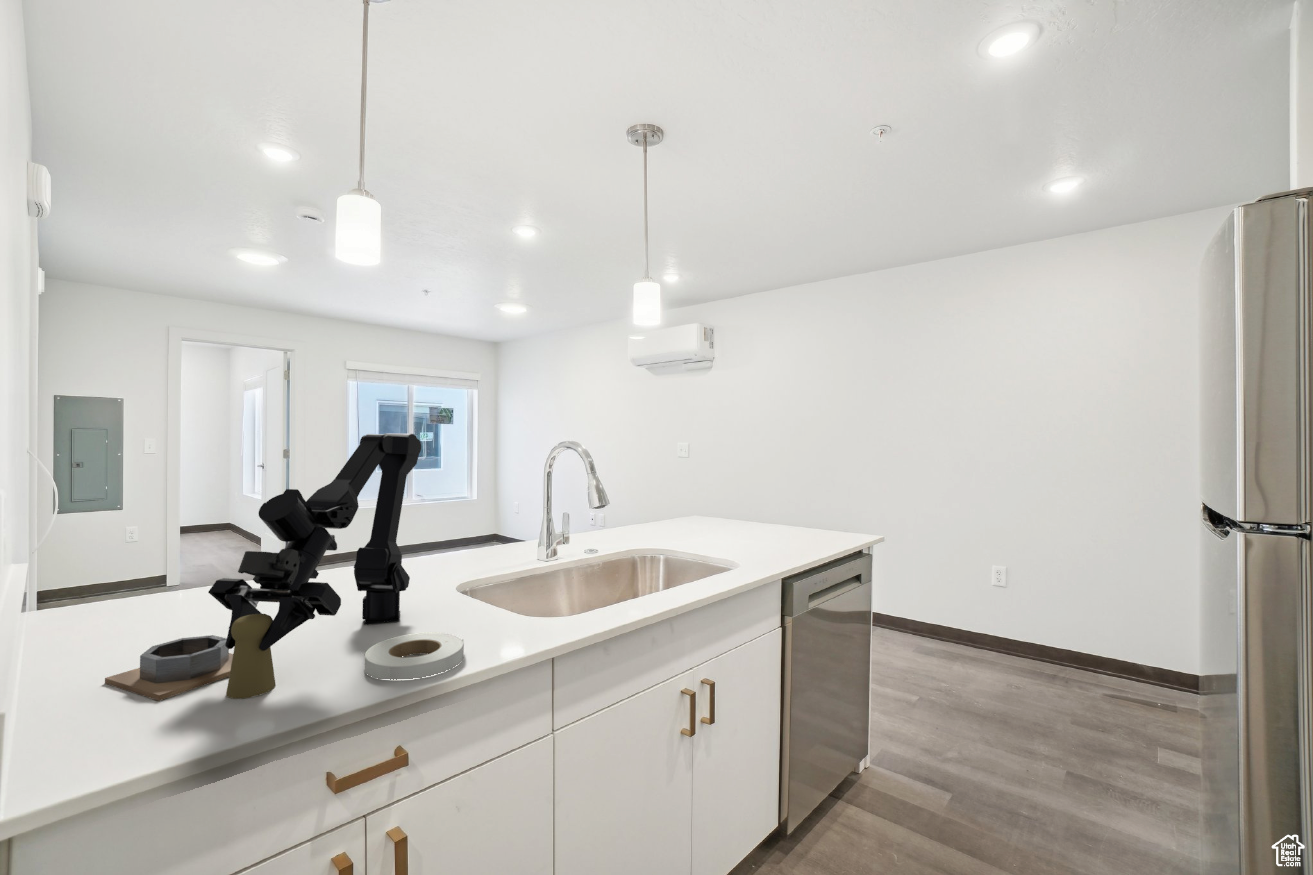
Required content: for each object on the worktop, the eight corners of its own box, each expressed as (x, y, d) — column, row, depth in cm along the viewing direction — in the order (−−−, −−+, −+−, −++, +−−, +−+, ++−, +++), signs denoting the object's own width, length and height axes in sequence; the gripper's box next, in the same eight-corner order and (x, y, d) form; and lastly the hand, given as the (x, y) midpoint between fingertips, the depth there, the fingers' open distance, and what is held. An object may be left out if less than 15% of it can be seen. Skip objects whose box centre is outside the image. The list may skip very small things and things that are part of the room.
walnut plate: (207, 652, 99) (207, 647, 99) (260, 665, 94) (260, 660, 94) (104, 683, 86) (104, 677, 86) (159, 700, 81) (159, 695, 81)
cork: (285, 682, 88) (286, 610, 88) (253, 699, 82) (255, 623, 82) (249, 679, 88) (250, 608, 88) (215, 697, 82) (216, 621, 82)
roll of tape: (387, 692, 85) (387, 673, 85) (350, 663, 96) (350, 646, 96) (480, 664, 97) (481, 647, 97) (438, 641, 107) (438, 626, 107)
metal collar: (201, 653, 96) (202, 632, 96) (239, 663, 93) (240, 641, 93) (128, 675, 87) (129, 652, 87) (167, 687, 83) (167, 663, 83)
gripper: (220, 527, 90) (149, 618, 79) (330, 531, 88) (274, 625, 77) (258, 566, 98) (199, 654, 87) (361, 570, 96) (314, 661, 85)
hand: (244, 648), depth 83 cm, fingers closed on cork, 5 cm apart
